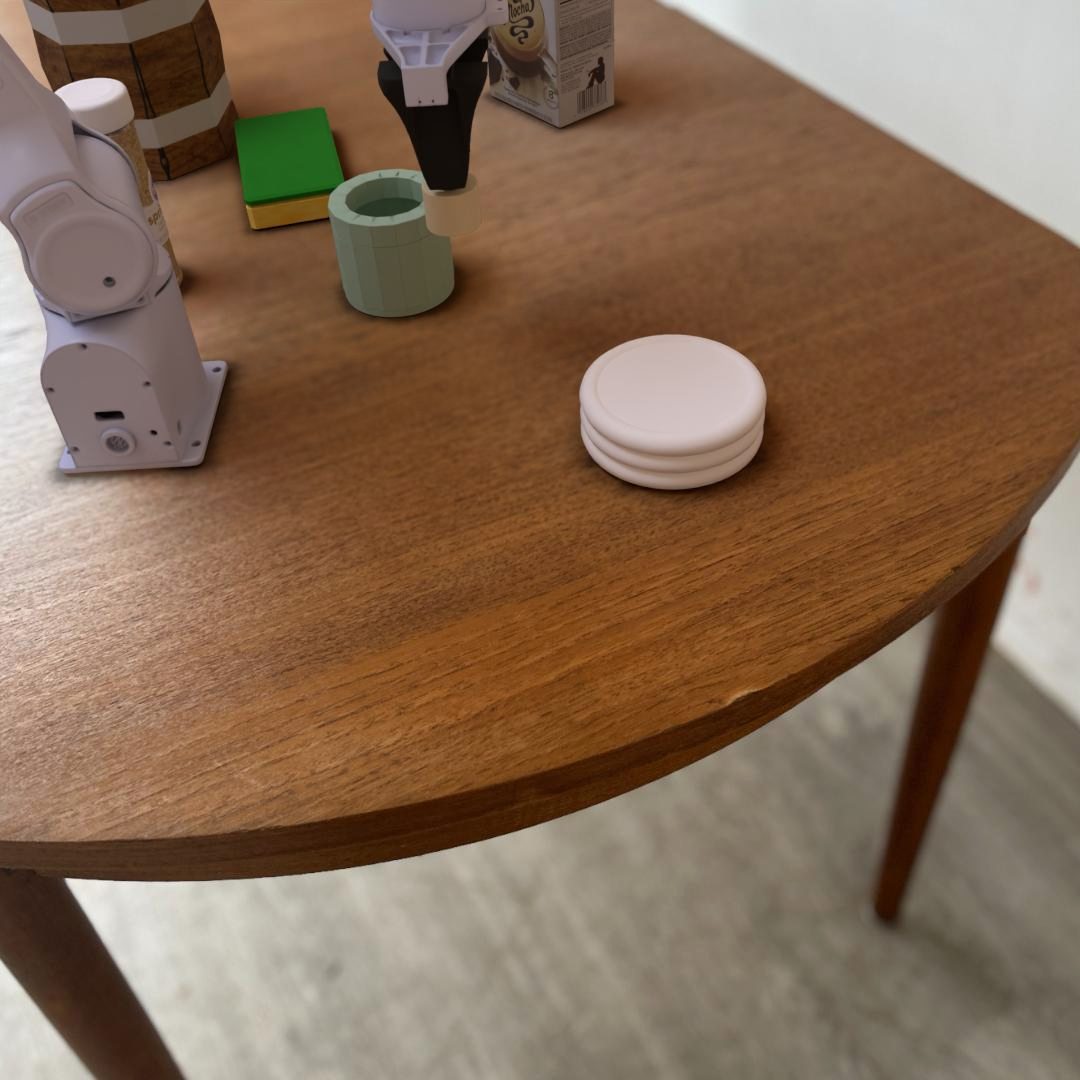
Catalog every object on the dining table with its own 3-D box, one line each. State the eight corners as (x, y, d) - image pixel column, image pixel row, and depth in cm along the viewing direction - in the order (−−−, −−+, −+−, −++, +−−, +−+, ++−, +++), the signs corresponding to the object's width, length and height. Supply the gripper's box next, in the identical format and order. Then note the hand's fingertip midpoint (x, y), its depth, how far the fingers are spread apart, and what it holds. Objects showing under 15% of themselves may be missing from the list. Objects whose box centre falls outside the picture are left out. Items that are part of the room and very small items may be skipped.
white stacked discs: (562, 397, 69) (559, 347, 66) (726, 367, 70) (730, 317, 68) (608, 510, 62) (607, 458, 59) (790, 474, 63) (796, 422, 61)
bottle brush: (481, 235, 68) (462, 40, 60) (425, 238, 68) (399, 44, 60) (482, 208, 70) (464, 17, 63) (428, 211, 70) (403, 20, 63)
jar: (453, 313, 76) (442, 221, 71) (340, 320, 76) (322, 229, 71) (455, 254, 81) (445, 165, 76) (350, 261, 81) (333, 172, 77)
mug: (256, 161, 93) (209, -43, 82) (79, 198, 90) (6, -8, 79) (219, 68, 106) (174, -117, 96) (64, 98, 103) (0, -90, 93)
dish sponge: (329, 134, 95) (324, 104, 94) (351, 215, 86) (345, 184, 84) (240, 148, 94) (233, 118, 93) (251, 232, 85) (244, 200, 83)
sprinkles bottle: (194, 289, 80) (136, 92, 70) (128, 313, 78) (60, 114, 69) (170, 261, 82) (111, 68, 73) (106, 283, 81) (37, 88, 71)
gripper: (500, -39, 52) (520, 238, 62) (501, -133, 63) (518, 116, 72) (341, -29, 53) (384, 245, 62) (368, -125, 63) (402, 122, 72)
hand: (448, 176), depth 67 cm, fingers closed on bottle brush, 2 cm apart
